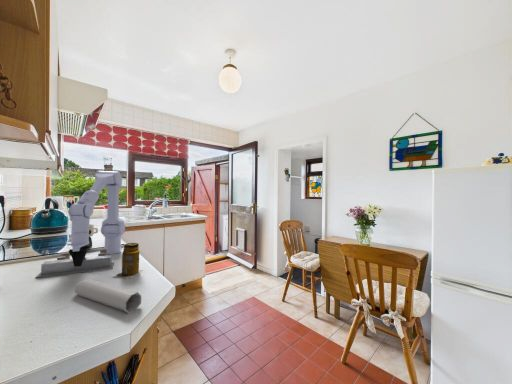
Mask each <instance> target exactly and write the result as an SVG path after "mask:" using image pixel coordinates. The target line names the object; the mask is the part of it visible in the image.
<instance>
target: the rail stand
mask: <svg viewBox="0 0 512 384" xmlns="http://www.w3.org/2000/svg"><path fill="white" fill-rule="evenodd" d="M106 255H108V254H107V249H105V248H104V249H99V253H98V254H97V256H106ZM70 256H71V255H70V253H69V251H68V252H61V256H57V257H56V260H65V259H71V257H70Z"/></svg>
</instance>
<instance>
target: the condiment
mask: <svg viewBox="0 0 512 384" xmlns="http://www.w3.org/2000/svg"><path fill="white" fill-rule="evenodd" d="M139 247H140V246H139V243H138V242H129V243H125V244H124V245H123V251H122V252H121V253H122V254H121V256H122V258H121V259H122V260H121V272H119V273H118V274H115V275H114V276H113V278H117V279H132V278H133V277H135V276H137V275H140V273H142V272H143V271H144V269H140V248H139Z"/></svg>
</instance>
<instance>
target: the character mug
mask: <svg viewBox="0 0 512 384" xmlns="http://www.w3.org/2000/svg"><path fill="white" fill-rule="evenodd" d="M94 230H95V231H94ZM98 231H99V229H98V227H95V225H94V224H92V223H91V224H90V223H89V244H87V245H90V246H89V248H92V247H93V241H92V240H93V239H92V237H93V236H94V234H98Z"/></svg>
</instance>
